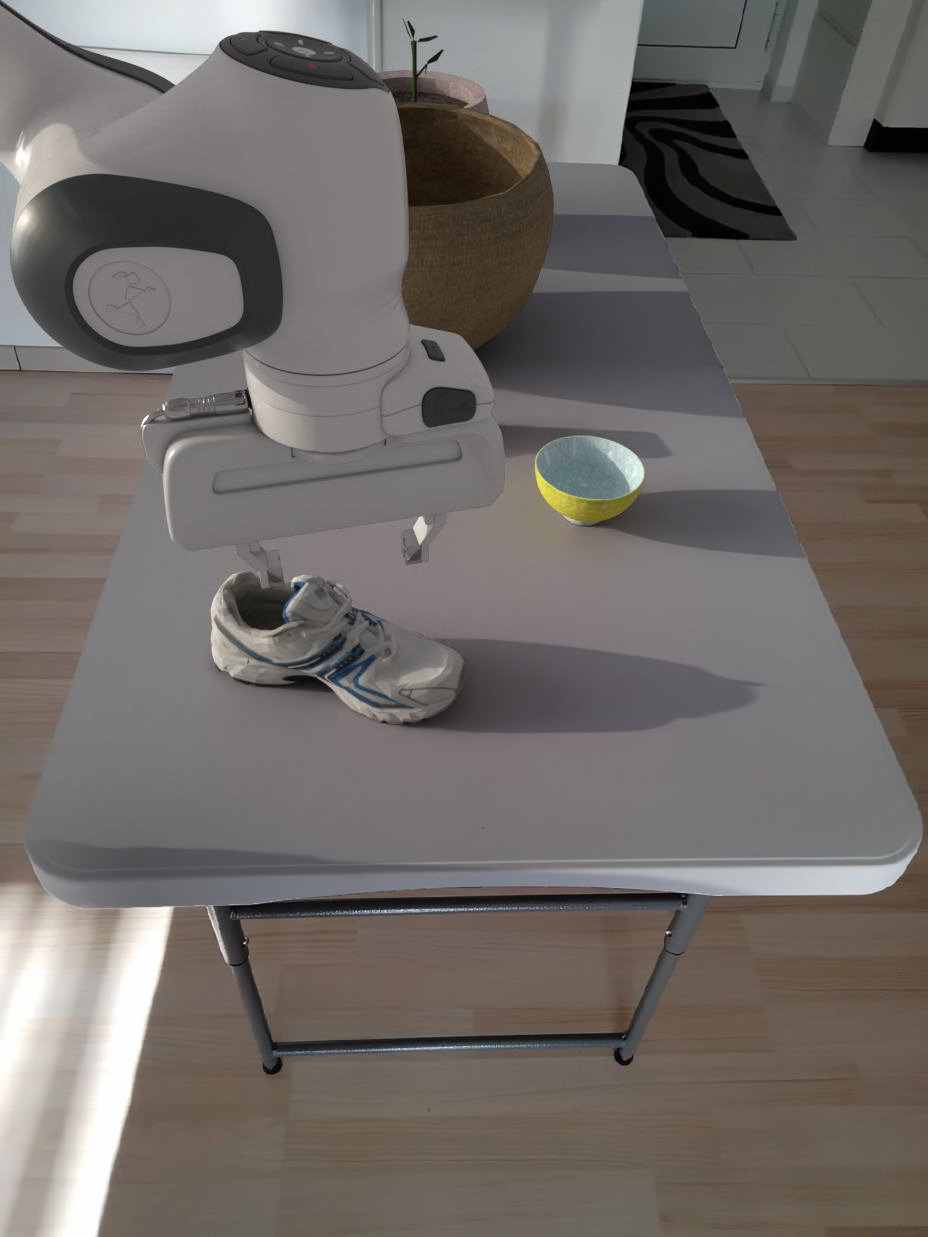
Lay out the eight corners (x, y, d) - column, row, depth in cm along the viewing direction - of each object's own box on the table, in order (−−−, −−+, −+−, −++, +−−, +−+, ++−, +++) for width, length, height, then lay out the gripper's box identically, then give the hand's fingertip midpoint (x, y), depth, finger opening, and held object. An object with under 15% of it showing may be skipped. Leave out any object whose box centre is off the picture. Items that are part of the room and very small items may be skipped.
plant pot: (484, 270, 140) (495, 44, 119) (328, 260, 141) (311, 34, 119) (492, 208, 157) (504, 1, 136) (353, 199, 158) (342, -8, 136)
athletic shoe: (459, 737, 77) (466, 615, 71) (192, 709, 79) (176, 587, 72) (472, 670, 85) (479, 556, 79) (231, 645, 87) (219, 532, 81)
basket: (530, 280, 139) (557, 102, 120) (534, 423, 116) (569, 231, 97) (295, 256, 137) (286, 72, 119) (252, 396, 114) (232, 196, 95)
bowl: (609, 473, 104) (617, 427, 100) (653, 537, 97) (664, 489, 92) (515, 489, 102) (519, 442, 97) (553, 555, 94) (559, 508, 90)
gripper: (133, 437, 46) (184, 630, 56) (522, 389, 50) (506, 576, 60) (130, 373, 50) (177, 562, 60) (489, 333, 55) (478, 516, 64)
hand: (344, 569), depth 60 cm, fingers open, 8 cm apart
